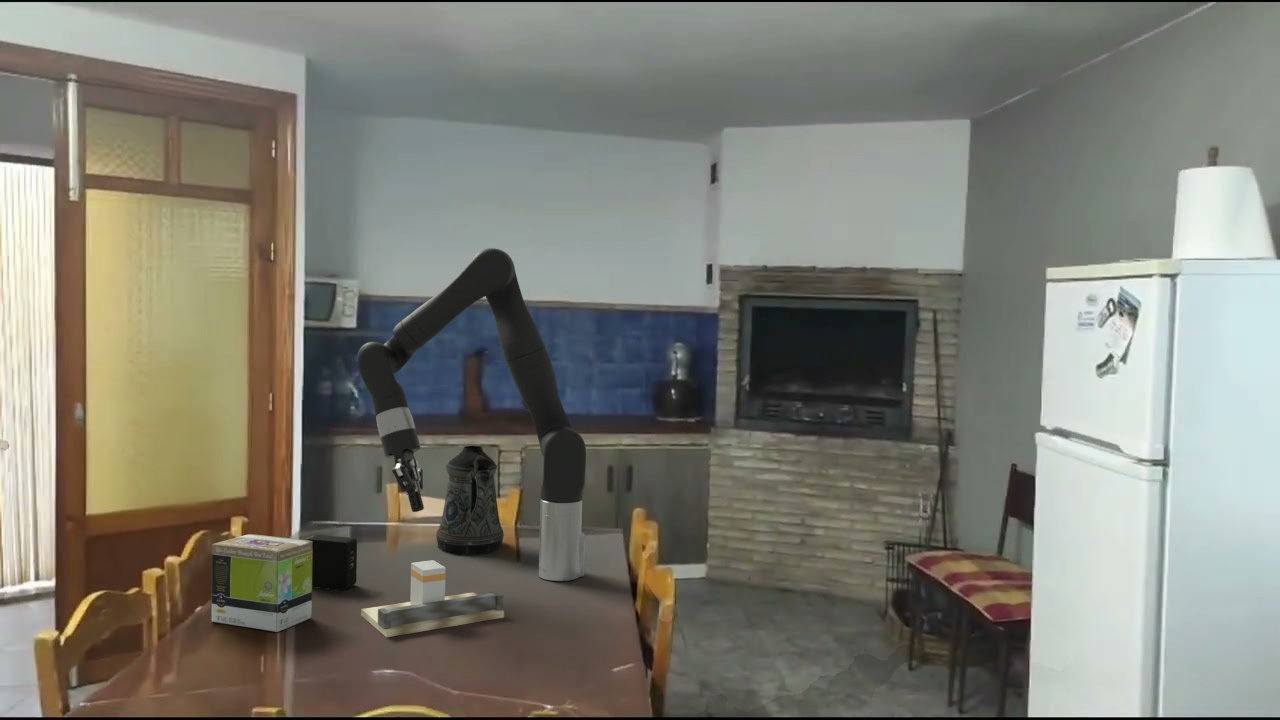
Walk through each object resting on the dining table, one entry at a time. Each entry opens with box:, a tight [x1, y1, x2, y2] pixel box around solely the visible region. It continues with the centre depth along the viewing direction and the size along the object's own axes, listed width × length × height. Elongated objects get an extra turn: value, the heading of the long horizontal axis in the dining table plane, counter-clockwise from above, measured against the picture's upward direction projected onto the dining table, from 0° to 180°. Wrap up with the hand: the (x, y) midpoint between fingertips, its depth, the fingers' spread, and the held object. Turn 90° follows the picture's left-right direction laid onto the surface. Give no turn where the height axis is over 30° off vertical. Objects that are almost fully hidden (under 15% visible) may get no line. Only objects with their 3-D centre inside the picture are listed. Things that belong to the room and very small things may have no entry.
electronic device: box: [305, 534, 358, 591], centre depth 196 cm, size 4×10×10 cm, turn 79°
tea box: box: [211, 533, 313, 633], centre depth 173 cm, size 15×10×15 cm, turn 71°
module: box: [409, 559, 447, 605], centre depth 177 cm, size 4×6×9 cm
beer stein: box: [435, 445, 505, 556], centre depth 231 cm, size 16×19×25 cm
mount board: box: [360, 590, 505, 638], centre depth 178 cm, size 23×14×4 cm, turn 125°
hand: (418, 510), depth 196 cm, fingers closed
